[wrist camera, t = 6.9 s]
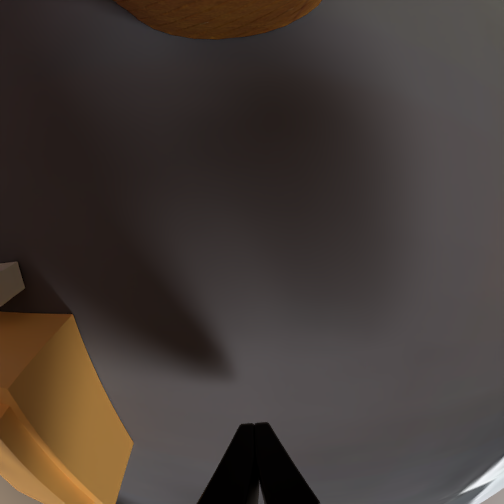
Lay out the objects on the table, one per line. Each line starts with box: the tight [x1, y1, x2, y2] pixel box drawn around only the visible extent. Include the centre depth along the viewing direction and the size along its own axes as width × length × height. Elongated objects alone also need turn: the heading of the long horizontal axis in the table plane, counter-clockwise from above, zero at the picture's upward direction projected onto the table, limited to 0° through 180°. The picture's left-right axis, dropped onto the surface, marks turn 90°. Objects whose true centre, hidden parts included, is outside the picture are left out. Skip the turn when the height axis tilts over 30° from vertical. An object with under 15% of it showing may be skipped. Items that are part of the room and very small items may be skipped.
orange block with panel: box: [0, 312, 133, 504], centre depth 7 cm, size 7×8×5 cm
